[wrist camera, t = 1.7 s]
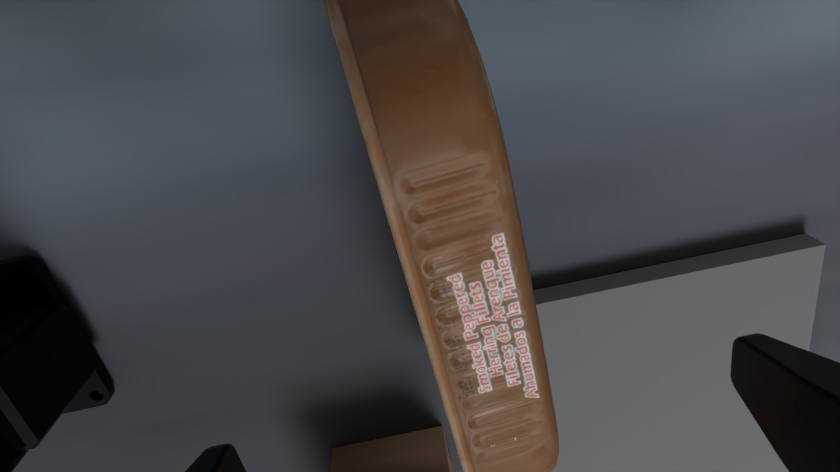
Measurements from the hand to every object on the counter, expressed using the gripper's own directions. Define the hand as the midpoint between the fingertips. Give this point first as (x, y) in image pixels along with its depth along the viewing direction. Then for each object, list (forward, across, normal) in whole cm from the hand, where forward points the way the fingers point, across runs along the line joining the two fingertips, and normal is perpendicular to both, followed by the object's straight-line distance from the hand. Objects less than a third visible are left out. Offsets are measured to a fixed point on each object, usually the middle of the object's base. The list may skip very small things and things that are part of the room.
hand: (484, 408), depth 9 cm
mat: (+10, -8, +14) cm, 19 cm away
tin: (+10, 0, 0) cm, 11 cm away
